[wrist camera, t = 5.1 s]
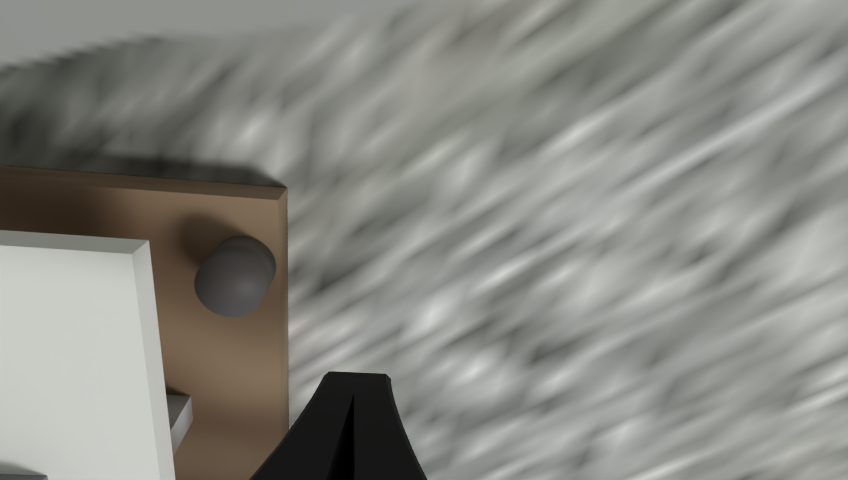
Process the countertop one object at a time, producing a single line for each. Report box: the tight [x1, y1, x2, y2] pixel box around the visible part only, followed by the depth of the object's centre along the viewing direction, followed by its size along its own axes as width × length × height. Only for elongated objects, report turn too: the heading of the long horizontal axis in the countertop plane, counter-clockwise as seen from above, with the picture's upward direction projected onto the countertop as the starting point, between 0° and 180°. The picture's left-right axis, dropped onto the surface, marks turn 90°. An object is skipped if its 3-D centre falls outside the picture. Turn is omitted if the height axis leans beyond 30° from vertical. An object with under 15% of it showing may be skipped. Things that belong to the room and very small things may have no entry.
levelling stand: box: [0, 166, 289, 480], centre depth 20 cm, size 18×16×4 cm
